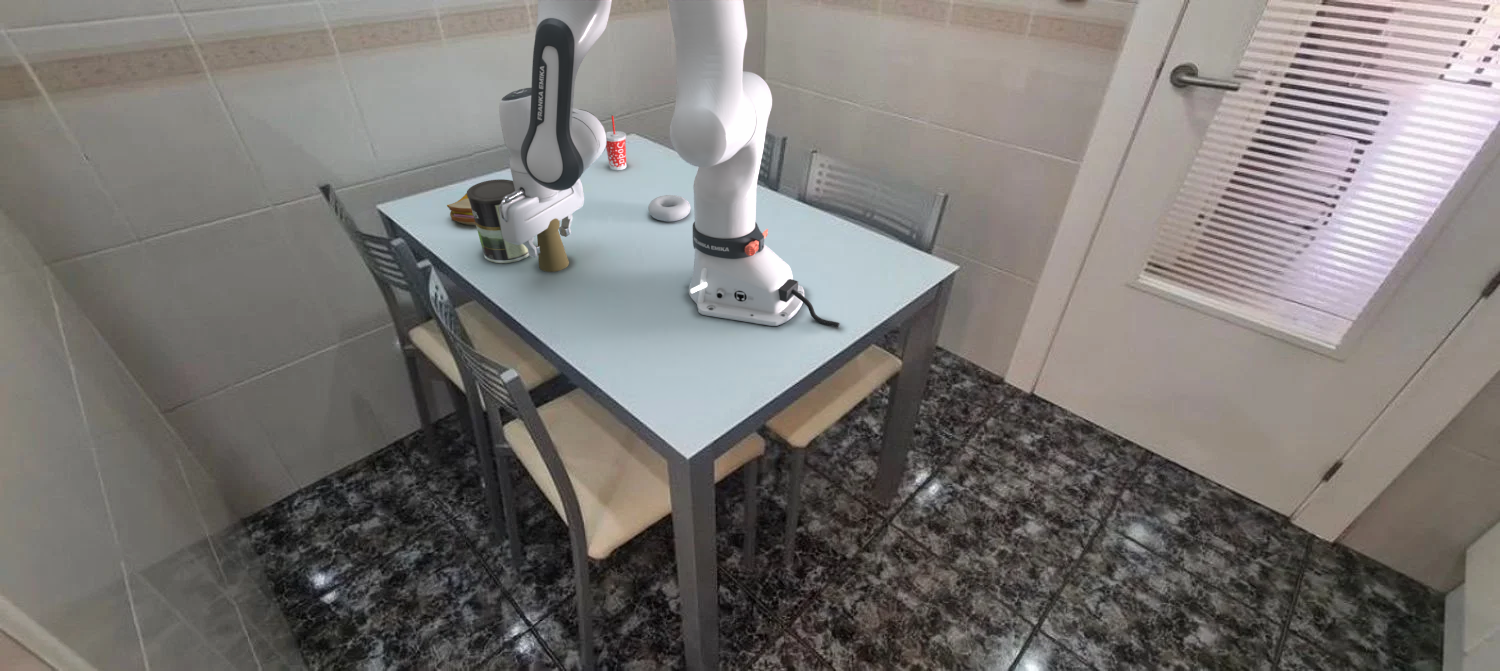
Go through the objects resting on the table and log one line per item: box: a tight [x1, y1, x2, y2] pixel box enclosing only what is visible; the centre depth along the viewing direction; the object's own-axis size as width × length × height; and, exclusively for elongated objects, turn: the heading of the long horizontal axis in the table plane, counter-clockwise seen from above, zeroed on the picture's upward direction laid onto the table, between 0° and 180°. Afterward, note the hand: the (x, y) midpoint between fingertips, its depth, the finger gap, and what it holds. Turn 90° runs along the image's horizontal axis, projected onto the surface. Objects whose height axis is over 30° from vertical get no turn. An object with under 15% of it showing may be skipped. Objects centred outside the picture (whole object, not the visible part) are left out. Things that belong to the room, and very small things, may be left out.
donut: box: [648, 194, 692, 222], centre depth 145 cm, size 10×4×10 cm
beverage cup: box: [605, 115, 627, 171], centre depth 165 cm, size 6×6×14 cm
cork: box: [536, 218, 570, 273], centre depth 123 cm, size 6×6×11 cm
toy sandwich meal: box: [446, 192, 476, 226], centre depth 142 cm, size 12×14×5 cm
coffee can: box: [466, 178, 530, 264], centre depth 126 cm, size 10×10×14 cm
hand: (550, 244), depth 123 cm, fingers open, 8 cm apart
